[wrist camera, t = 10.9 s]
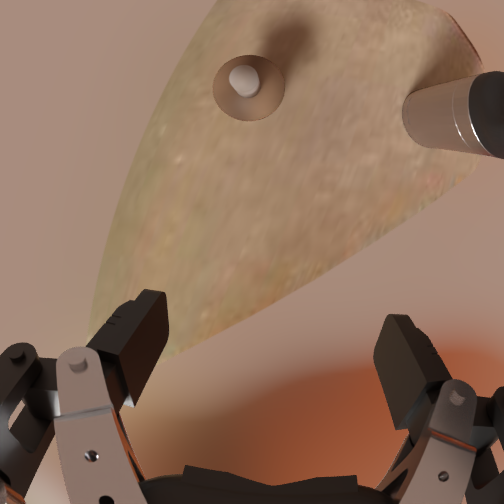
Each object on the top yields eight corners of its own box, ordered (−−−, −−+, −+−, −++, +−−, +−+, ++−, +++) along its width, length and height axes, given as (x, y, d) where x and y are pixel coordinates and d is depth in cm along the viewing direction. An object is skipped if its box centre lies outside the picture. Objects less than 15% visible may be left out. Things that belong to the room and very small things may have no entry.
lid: (286, 59, 26) (288, 44, 21) (282, 123, 29) (283, 119, 24) (216, 56, 26) (205, 42, 21) (211, 119, 29) (199, 115, 24)
